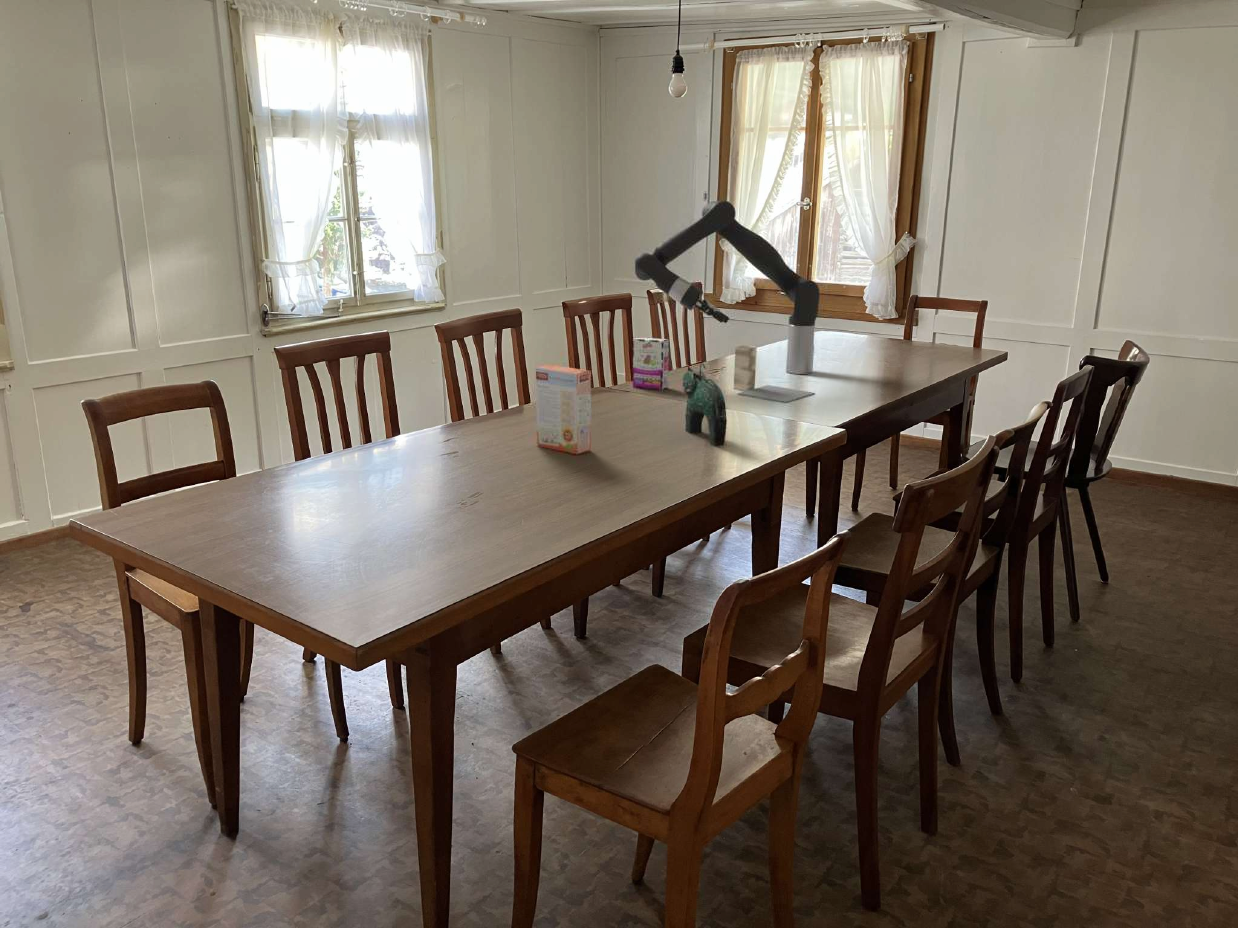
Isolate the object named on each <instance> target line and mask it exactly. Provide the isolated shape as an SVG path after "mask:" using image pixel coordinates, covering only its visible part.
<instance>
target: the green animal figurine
mask: <svg viewBox="0 0 1238 928" xmlns="http://www.w3.org/2000/svg"><path fill="white" fill-rule="evenodd" d="M702 366H703V368H704V370H706V369H707V367H706V364H705V363H703V362H701V363H700V365H699V370H693V368H692V367H690V366H688V368H687V371H686V372H685V373H684V374H683V377H682V391H683V392H684V393H685V395H687V401H686V405H685V406H686V408H685V427H684V428H685V432H687V433H689V434H698V433H702V431H703V429H702V428H703V420H704V417H705V418H706V420H707V423H708V424H707V425H708V432H709V441H710V445H711V446H713V445H714V446H713V447H719V446H720V445H722V446H725V444H726V443H725V442H726V441H725V439H726V434H727V424H728V423H727V422H728V420H727V407H726V401H725V397H724V393H723V390H721V387H720V386H719V384H717V383H716V382H715V381H714V380H713V379H710V378H707V376H706V374H705V372H704V371H702Z"/></svg>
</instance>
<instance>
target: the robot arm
mask: <svg viewBox="0 0 1238 928" xmlns="http://www.w3.org/2000/svg"><path fill="white" fill-rule="evenodd" d="M714 233H716V234H718V236H720V237H722V238H723V239H725V240H726V241H727V242H728V243H729V244H730V245H731V246H732V247H733V248H734V249H735V250H736V251H737V252H738V254H739V253H740V255H741V256H742V257H744V259H745V260H746V261H748V262H749V263H750V264H751V265H752V266H753V267H754V268H755V269H757V270H758V271H759V272H760V273H761V274H763V275H764V276H765V277H766V278H767V279H769V280H771V281H772V282H773V283H774V284H775V285H776V286H777V287H778V288H779V289H780V290H781V291H782V292H783V293H784V295H786V297H787V299H789V300H790V301H791V302H792V303H793V311H792V314H790V315H789V317H788V327H787V328H788V332H787V348H786V364H785V372H786V373H789V374H796V375H806V374H807V375H808V374H812V372H813V370H814V369H813V368H814V354H815V344H814V342H815V327H816V326H815V325H816V319H817V318H818V313H819V306H820V288H819V285H818V284H817V283H816V282H815V281H813V280H812V279H807V278H804V277H802V276H800V275H799V274H798V273H797V272H795V271H794V270H792V268H790V267H789V266H788V265H787V263H786V262H785V260H784V259H783V257H782V256H781V253H779V251H778V250H777V248H775V247H774V246H773V245H772V244H771V243H770V242H769V241H768V240H766V239H765V237H763V236H761V235H760V234H758V233H756V232H754V231H752V230H751V229H749V228H746V226H744V225H742V224H741V223H740V222H739V221H738V220H736V209H735V206H734V205H733V203H731V202H730V201H727V200H715V201H710V202H708V203H707V204H705V205H704V207H703V208H702V211H701V217H700V218H699V219H698V220H696V221H695V222H693V223H692V224H690V225H689V226H687V227H685V228H682V229H680V230H679V231H677V232H675V233H674V234H671V236H669V237H668V238H666V239H665V240H663V241H662V242H661V243H659V244H658V245H656V246H655V249H654V250H653V252H652V253H651V254H650V253H648V252H643V253H640V254H638V255H637V257H636V258H635V260H634V273H635V276H636V277H637V278H638V280H640V281H645V282H646V281H649V280H652V281H653V282H654V283H655V285H656V287H657V288H658V289H659V290H661V291H662V292H663V293H664V294H666V295H668V296H669V297H670V298H672V299H673V300H674V301H675V302H677V303H678V304H680V305H681V306H682V307H685V308H686V309H687V310H689V311H693V310H694V309H695V308H697V310H698V311H699V312H701V313H703V314H704V315H706V316H709V317H712V318H714V319H715V320H716V321H718V322H719V323H724V324H727V323H728V322H729V320H730V317H729V316H728V315H726V314H724V313H723V312H721V310H720V309H719V308H717V307H716V305H714V304H712V303H711V302H710V301H708V299H702V297H703V296H704V292H703V290H701V289H700V288H699V287H697V286H696V285H694V284H693V283H691V282H690V281H688V280H686V279H684V278H682V277H680V276H679V275H678V274H676V273H674V272H673V271H671V270H670V269H669V268H668V267H667V265H669V264H670V263H671V262H672V261H674V260H676V259H678V258H679V257H680V256H681V255H682V254H684V253H685V252H687V251H688V250H689V249H691V248H692V247H693V246H695V245H696V244H698V243H700V242H701V241H703V240H704V239H705V238H707V237H709V236H711V235H712V234H714Z"/></svg>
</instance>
